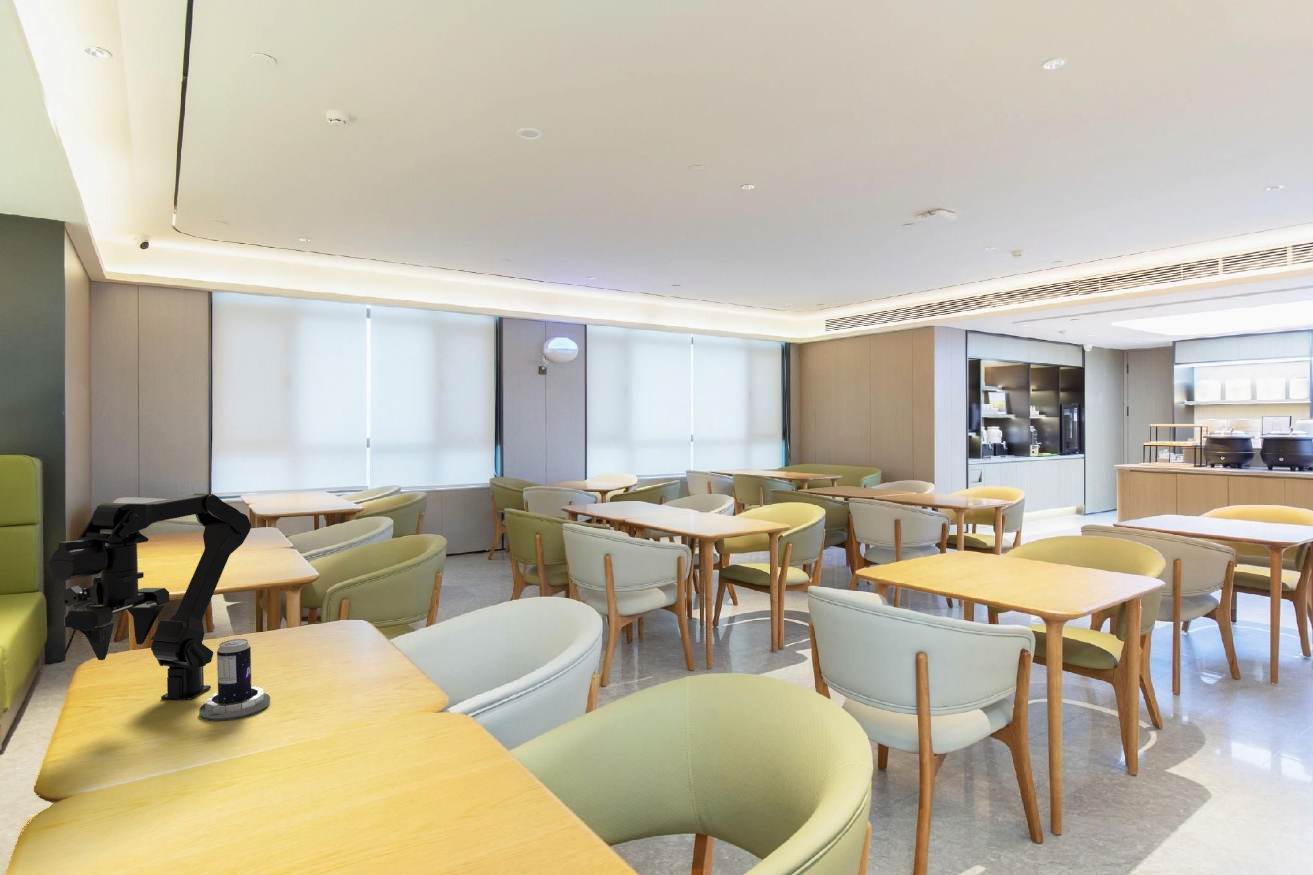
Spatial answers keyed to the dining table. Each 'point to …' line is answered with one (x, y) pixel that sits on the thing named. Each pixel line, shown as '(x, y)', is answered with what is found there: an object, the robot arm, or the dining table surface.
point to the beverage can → (234, 671)
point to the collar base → (236, 714)
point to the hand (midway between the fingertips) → (121, 651)
